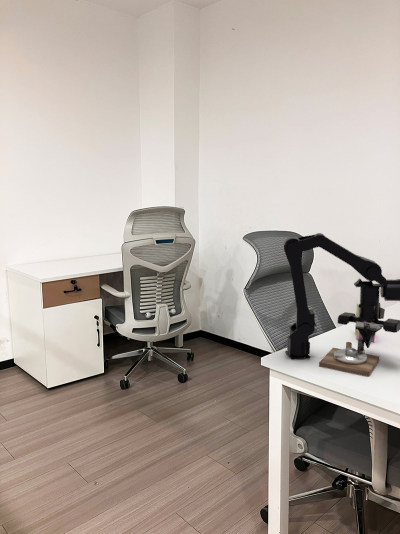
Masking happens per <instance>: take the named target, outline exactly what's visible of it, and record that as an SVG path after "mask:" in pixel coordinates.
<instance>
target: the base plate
mask: <svg viewBox="0 0 400 534" xmlns="http://www.w3.org/2000/svg"><path fill="white" fill-rule="evenodd" d="M352 345H353V344H352V342H351V341H346V343H345V348H353V346H352ZM341 349H342V348H338V347H332V348H331V349H330V350H329V351H328V352H327V353H326V355H324V356H323V357H322V358H321V360H320V361H319V364H318V366H319V367H321V368H325V369H331V370H335V371H338V372H344V373H349V374H352V375H353V374H354V375H358V376H365V377H367V378H368V377H369V378H370V376H371V375H372V373H373V371H374V370H375V369H376V367H377V365H378V364H379V362H380V355H376V354H375V355H374V354H369V353H365V354H366V355H367V361H366V362H365V363H363V364H346V363H342V362H339V361H337V360H335V359H334V352H335V351H337V350H341Z"/></svg>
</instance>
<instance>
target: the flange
mask: <svg viewBox="0 0 400 534" xmlns="http://www.w3.org/2000/svg"><path fill="white" fill-rule="evenodd" d="M340 349H341V350H337V351H335V352H334V359H335V360H337V361H339V362H342V363H346V364H363V363H365V362H366V361H367V355H366V354H367V353H366V350H365V342H364V340H363V339H362V338H359V339H357V349H356V348H354V347H352V348H346V347H345V348H344V349H342V348H340Z"/></svg>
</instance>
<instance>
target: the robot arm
mask: <svg viewBox="0 0 400 534" xmlns="http://www.w3.org/2000/svg"><path fill="white" fill-rule="evenodd" d="M315 248H316V249H317V248H321V249H322V250H323V251H325V252H327V253H329V254H330V255H332V256H334V257H335V258H337V259H339V260H341V261H342V262H343V263H346V264H347V265H348V266H351V267H352V269H354V270H355V271H356V272H357V273H358V274H360V276H362V277H363V278H364V279H365V280H362V279H361V278H360V277H359V278H358V279H357V280H356V281H355V282H354V283H353V285H354V286H355V288H360V290H359V291H360V292H359V293H360V294H359V303H360V304H359V308H360V316H359V317H356V313H353V312H346V311H345V312H343V313H340V314H339V315H338V316H337V324H339V325H345V326H346V325H348V324H349V323H355V325H356V327H354V330H355V329H358V330H359V332H360V334H361V336H362V338H363V340H364V346H365V347H366V349H369V348H370V347H371V344H372V343H373V342H372V339H373V337H374V335H375V336H376V333H377V332H379V331H380V330H382V328H383V330H384V331H385V332H388V333H398V332H399V331H400V319H397V318H396V319H394V318H388V319H385V311H386V310H385V308H383V307H381V302H380V298H381V299H382V298H383V300H384V302H385V301H387V302H400V278H396V279H387V278H386V277H385V276H384V275H383V274H382V273H383V270H382V267H381V266H380V265H379V264H378V263H377V262H376V261H374V260H372V259H369V258H367V257H364V256H361V255H357V254H355V253H354V252H352V251H350V250H348V249H347V248H345V246H342V245H340V244H339V243H337V242H335V241H333V240H332V239H330V238H329V237H327V236H326V235H324V234H323V233H321V232H317V233H315V234H310V235H305V236H299V237H297V236H292V235H291V236H289V237H287V238H286V239H284V242H283V251H284V254H285V257H286V259H287V261H288V265H289V267H290V273H291V280H292V285H293V292H294V299H295V305H296V309H295V311H296V312H295V322H294V323H293V324H291V325H290V326H289V328H288V329H289V330H288V331H289V335H288V336H287V343H286V344H287V346H286V348H287V349H286V350H285V354H286V355H287V356H288V357H289V358H290V359H291V360H296V359H298V360H299V359H310V358H311V355H310V353H311V342H310V338H309V337H311V335H313V333H314V332H315V330H316V328H315V327H317V322H316V319H315V318H316V314H315V310H314V308H312V309H310V308H309V306H308V305H309V304H308V298H307V291H306V285H305V280H304V273H303V272H304V271H303V268H302V266H303V265H302V263H303V252H307V251H310V250H313V249H315ZM373 282H376V283H373ZM383 319H385V320H383ZM366 321H367V322H366ZM372 322H373V323H372Z"/></svg>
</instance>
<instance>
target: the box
mask: <svg viewBox="0 0 400 534" xmlns="http://www.w3.org/2000/svg"><path fill="white" fill-rule="evenodd" d="M359 304H360V302H357V303H356V311H355V312H356V313H355V315H356V317H359V316H360V308H359ZM366 322H367V321H366ZM372 323H373V322H372ZM354 326H355V327H356V324H354ZM355 327H354V333H355V336H356V339H357V340H358V339H359V338H362V336H361V334H360V332H359V330H358V329H355ZM375 337H376V334H375V335H374V337H373V339H372V342H371V343H375V339H376V338H375ZM362 339H363V338H362Z"/></svg>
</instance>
